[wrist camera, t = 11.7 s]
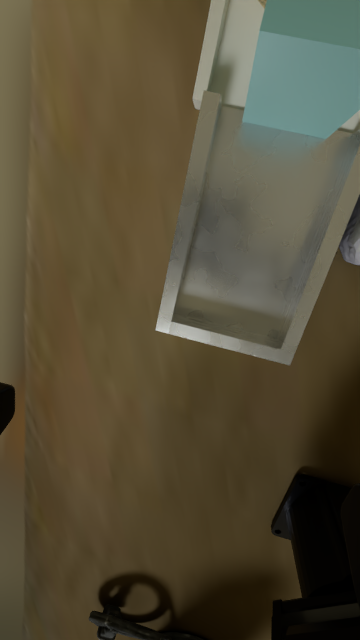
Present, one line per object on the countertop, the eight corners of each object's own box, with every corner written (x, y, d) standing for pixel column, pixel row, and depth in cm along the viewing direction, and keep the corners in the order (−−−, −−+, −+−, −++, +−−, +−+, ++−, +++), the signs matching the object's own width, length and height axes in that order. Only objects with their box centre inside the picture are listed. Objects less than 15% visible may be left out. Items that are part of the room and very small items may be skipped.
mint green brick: (361, 33, 13) (507, -173, 6) (326, 139, 14) (416, 59, 8) (268, 16, 13) (315, -199, 7) (242, 121, 15) (259, 30, 8)
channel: (283, 349, 19) (289, 365, 17) (162, 318, 19) (155, 330, 17) (364, 139, 15) (386, 127, 13) (206, 106, 15) (203, 90, 13)
